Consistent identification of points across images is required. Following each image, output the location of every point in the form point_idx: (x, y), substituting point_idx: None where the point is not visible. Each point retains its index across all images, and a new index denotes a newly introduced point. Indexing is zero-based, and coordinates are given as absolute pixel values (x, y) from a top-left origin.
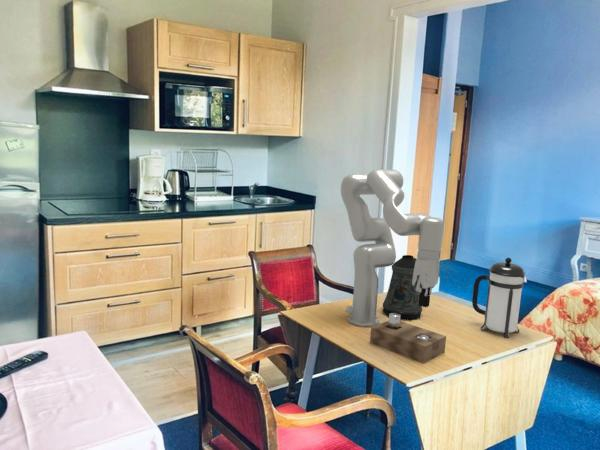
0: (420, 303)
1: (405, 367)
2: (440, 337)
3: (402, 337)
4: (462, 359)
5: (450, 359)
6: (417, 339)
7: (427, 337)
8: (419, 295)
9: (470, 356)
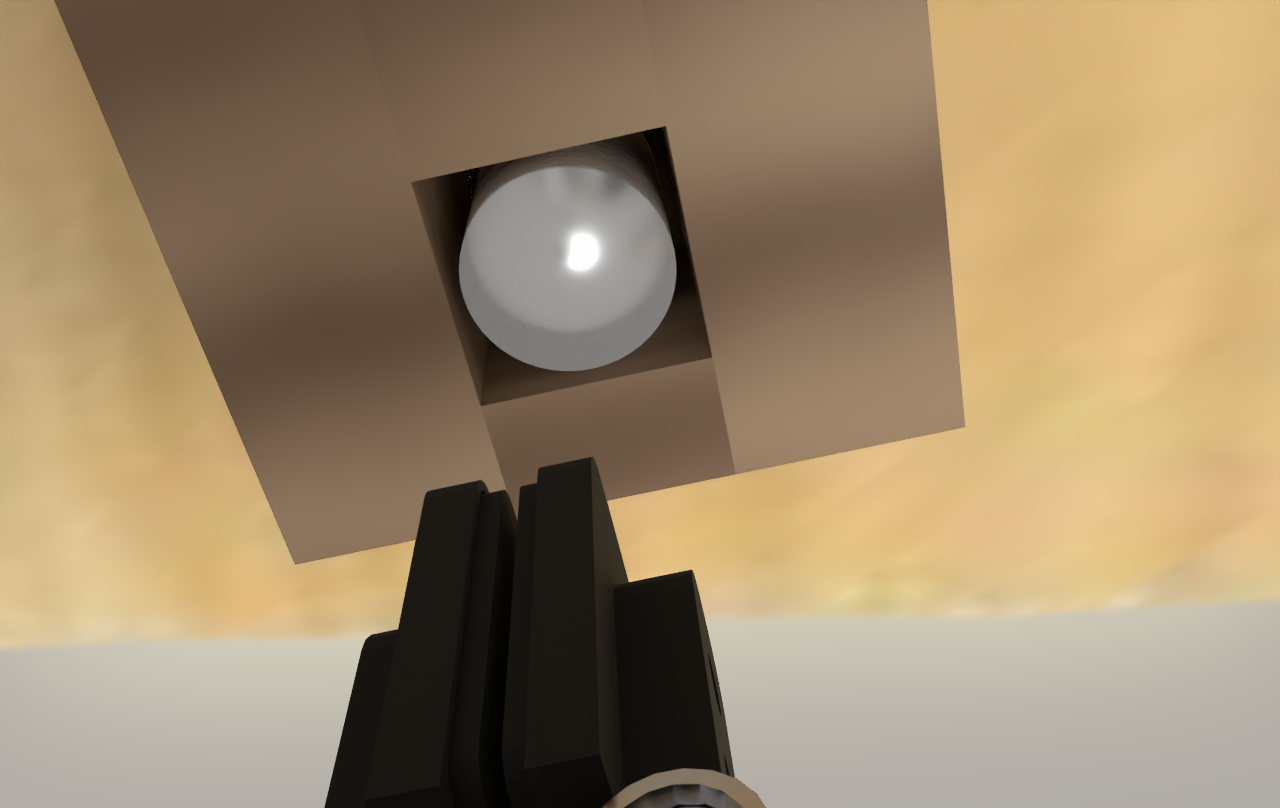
0: (378, 655)
1: (29, 398)
2: (825, 426)
3: (148, 123)
4: (902, 540)
5: (769, 481)
6: (372, 318)
7: (615, 333)
8: (378, 751)
9: (1069, 527)
